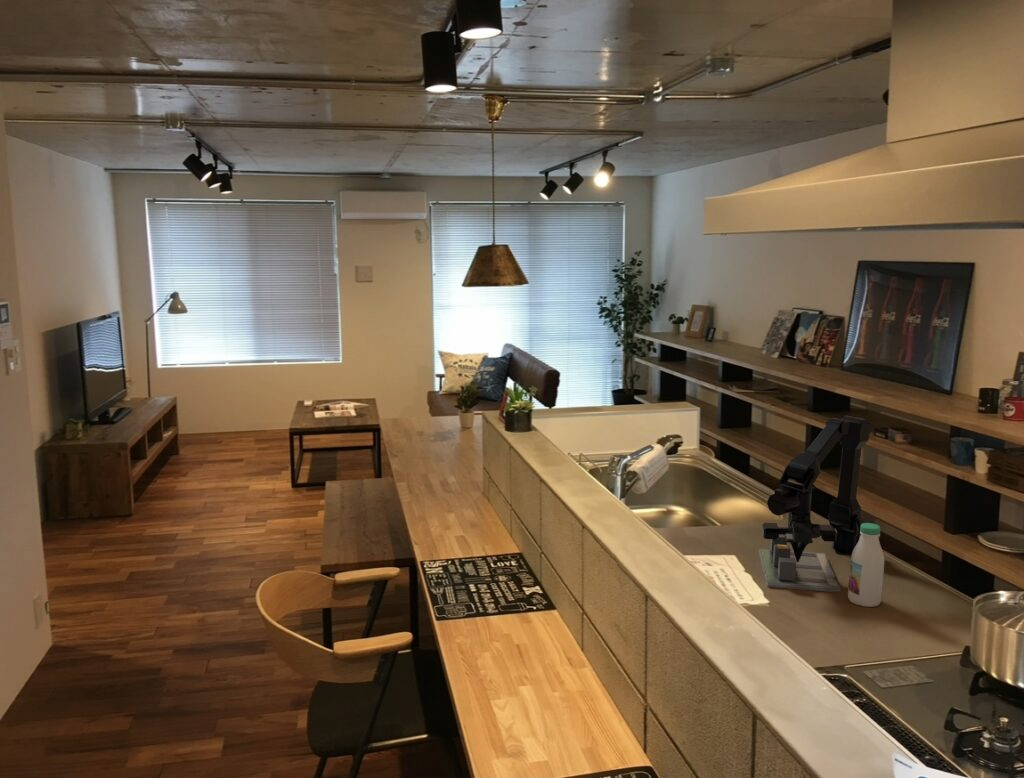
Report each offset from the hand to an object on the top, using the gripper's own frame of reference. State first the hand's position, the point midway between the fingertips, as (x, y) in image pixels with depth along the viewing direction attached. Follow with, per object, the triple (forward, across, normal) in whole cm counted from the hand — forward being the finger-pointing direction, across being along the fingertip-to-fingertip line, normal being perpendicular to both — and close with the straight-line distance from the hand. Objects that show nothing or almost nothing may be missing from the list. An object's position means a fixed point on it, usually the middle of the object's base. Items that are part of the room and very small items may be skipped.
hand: (797, 561), depth 229 cm
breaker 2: (+1, -4, -9) cm, 10 cm away
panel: (+3, 0, 0) cm, 3 cm away
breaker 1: (+1, -4, +9) cm, 10 cm away
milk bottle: (+3, +14, -16) cm, 21 cm away
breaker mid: (+1, -4, 0) cm, 4 cm away
